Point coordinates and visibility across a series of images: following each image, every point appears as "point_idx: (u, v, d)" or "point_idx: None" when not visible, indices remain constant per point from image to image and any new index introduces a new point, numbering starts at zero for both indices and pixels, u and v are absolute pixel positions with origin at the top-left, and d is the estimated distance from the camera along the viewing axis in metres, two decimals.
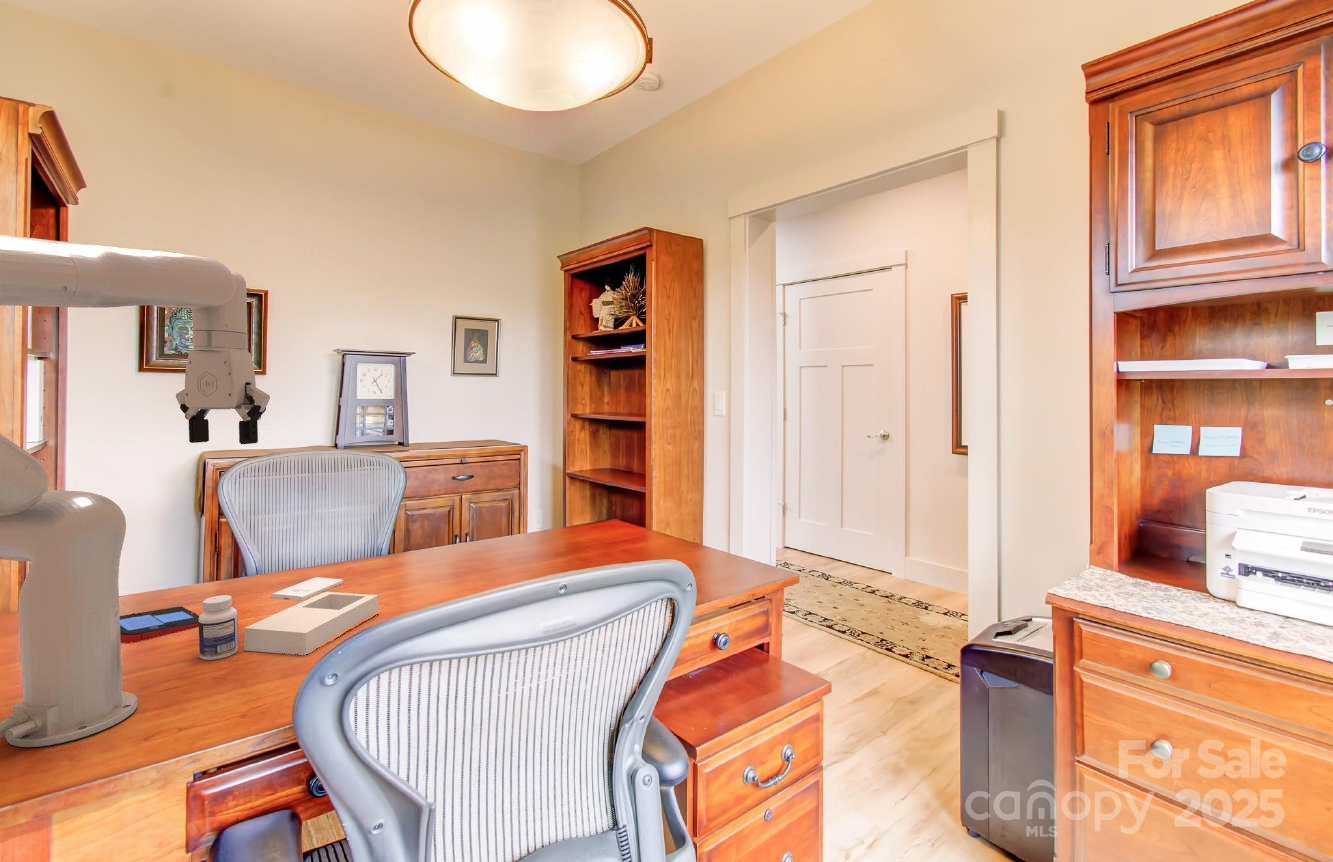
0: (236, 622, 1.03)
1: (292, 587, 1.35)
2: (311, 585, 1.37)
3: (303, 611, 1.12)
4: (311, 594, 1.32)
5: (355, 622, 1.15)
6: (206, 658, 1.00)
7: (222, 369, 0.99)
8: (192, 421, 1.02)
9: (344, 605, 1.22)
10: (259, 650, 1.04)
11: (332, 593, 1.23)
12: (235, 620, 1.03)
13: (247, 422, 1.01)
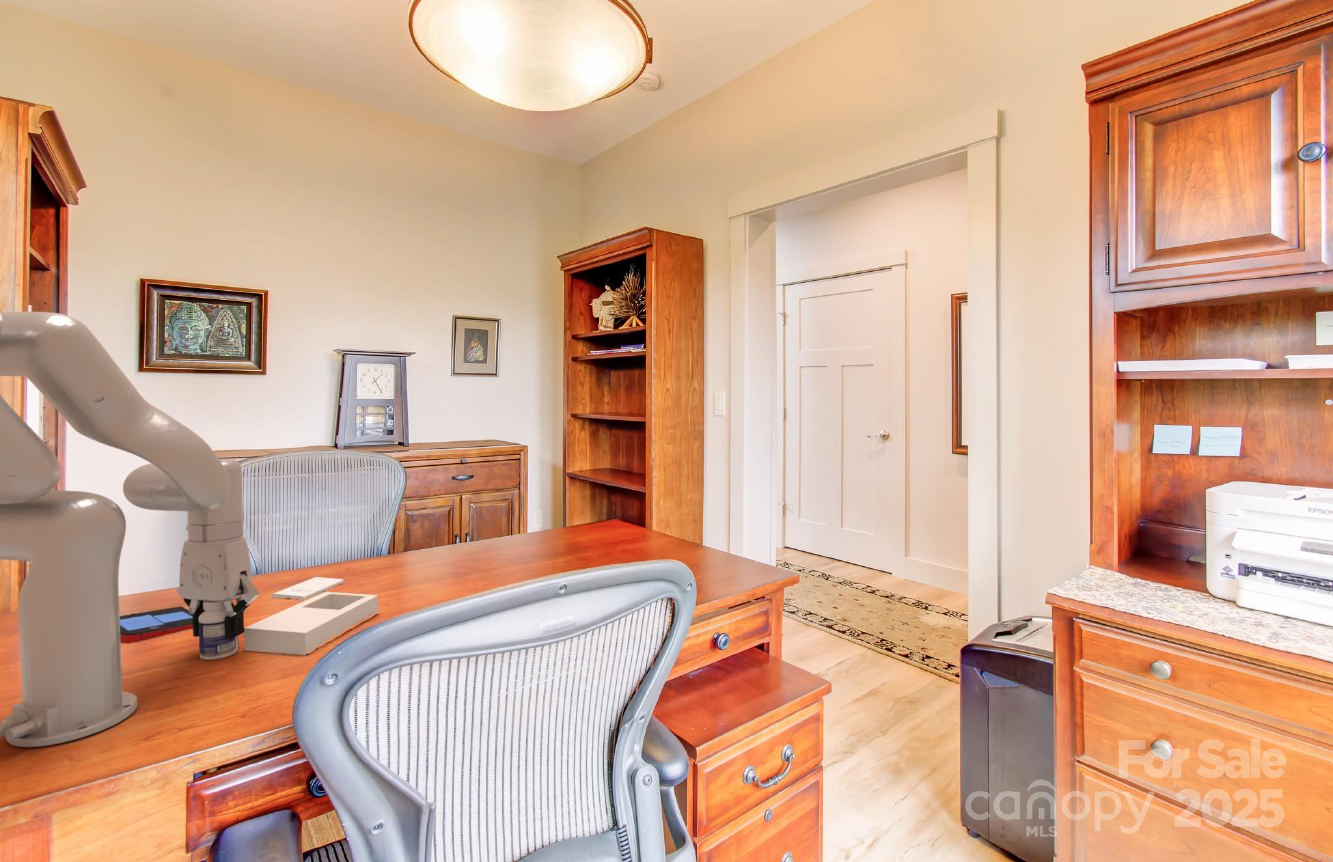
0: None
1: (293, 587, 1.36)
2: (312, 585, 1.37)
3: (303, 611, 1.12)
4: (312, 594, 1.32)
5: (355, 622, 1.15)
6: (206, 658, 1.00)
7: (217, 562, 0.99)
8: (196, 616, 1.01)
9: (344, 605, 1.22)
10: (259, 650, 1.04)
11: (332, 593, 1.23)
12: None
13: (233, 617, 1.01)
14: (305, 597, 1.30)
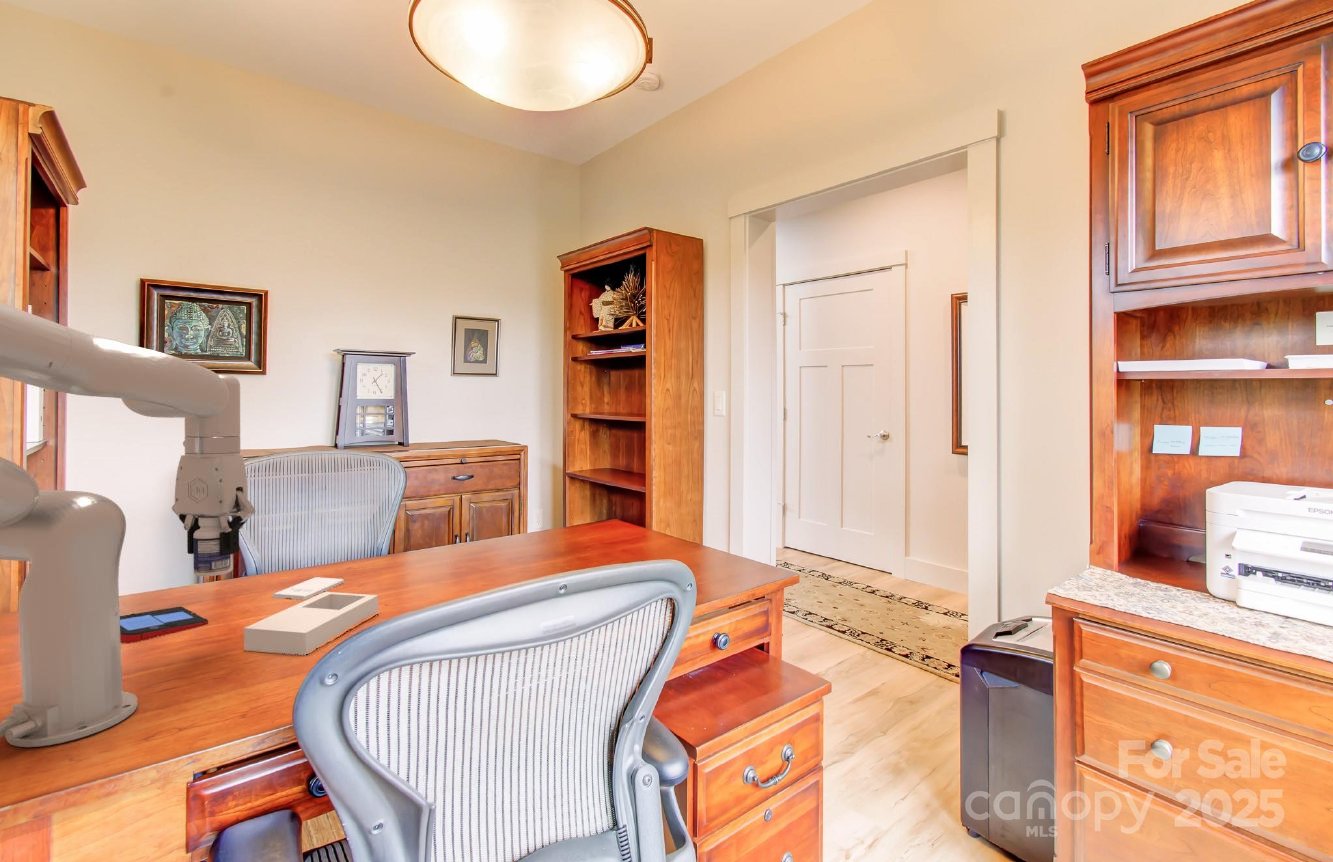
0: None
1: (293, 587, 1.36)
2: (312, 585, 1.37)
3: (303, 611, 1.12)
4: (313, 594, 1.32)
5: (355, 622, 1.15)
6: (200, 574, 0.98)
7: (213, 476, 0.97)
8: (191, 532, 1.00)
9: (344, 605, 1.22)
10: (259, 650, 1.04)
11: (332, 593, 1.23)
12: None
13: (228, 533, 1.00)
14: (306, 597, 1.30)
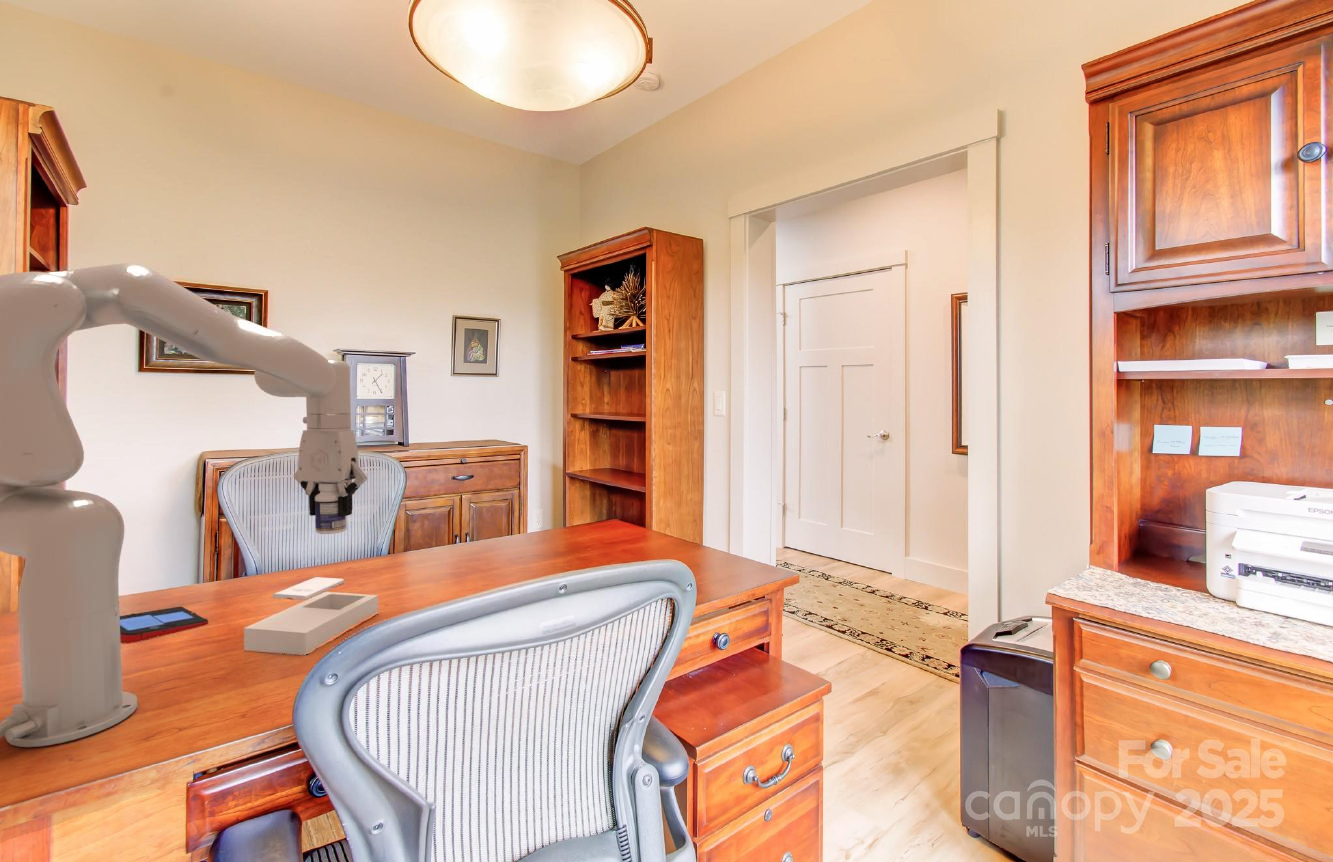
0: None
1: (293, 587, 1.36)
2: (312, 585, 1.37)
3: (303, 611, 1.12)
4: (314, 593, 1.33)
5: (355, 622, 1.15)
6: (322, 532, 1.14)
7: (333, 447, 1.13)
8: (312, 497, 1.15)
9: (344, 605, 1.22)
10: (259, 650, 1.04)
11: (332, 593, 1.23)
12: None
13: (345, 497, 1.15)
14: (307, 597, 1.31)
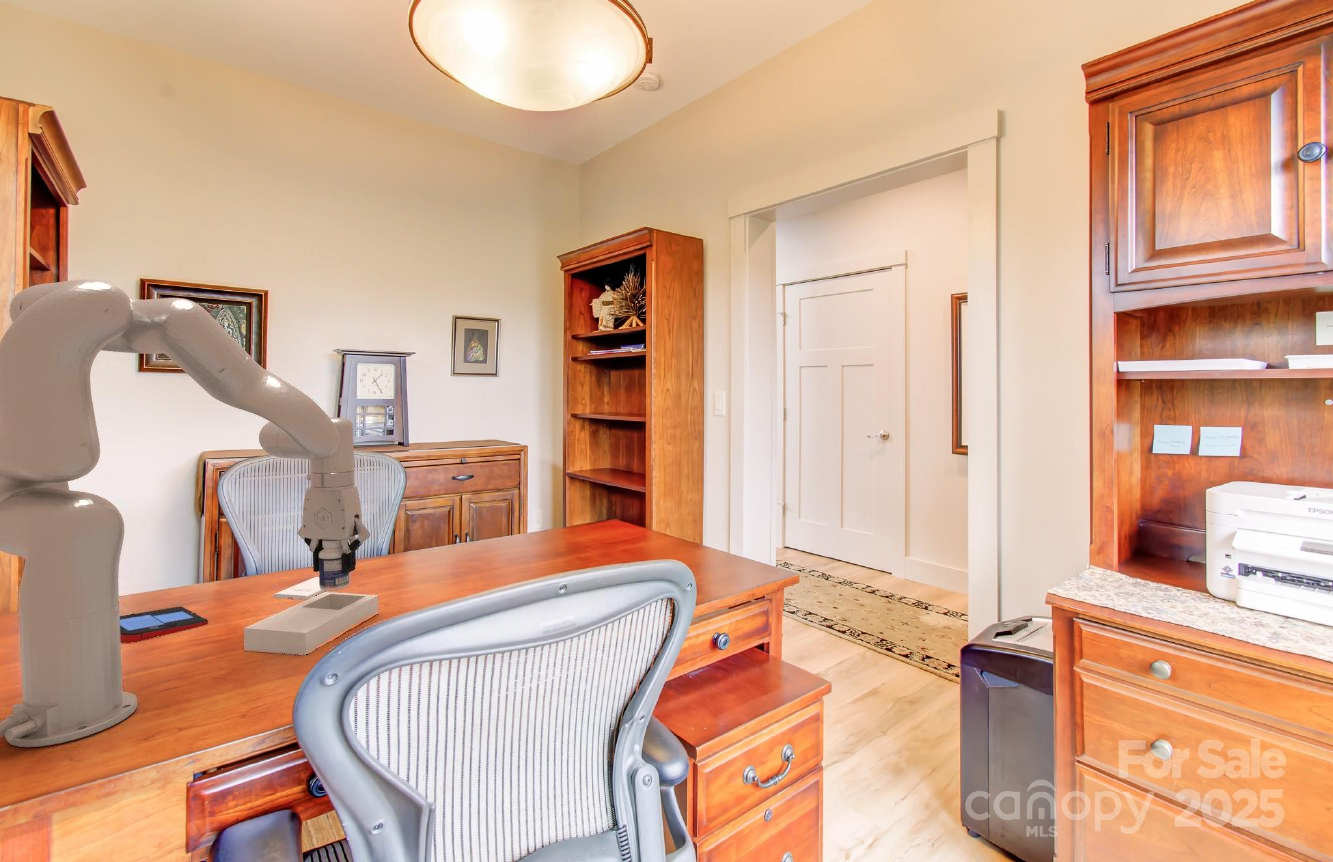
0: None
1: (294, 587, 1.36)
2: (313, 585, 1.37)
3: (303, 611, 1.12)
4: (315, 593, 1.33)
5: (355, 622, 1.15)
6: (326, 589, 1.15)
7: (336, 506, 1.14)
8: (316, 553, 1.16)
9: (344, 605, 1.22)
10: (259, 650, 1.04)
11: (332, 593, 1.23)
12: None
13: (348, 554, 1.16)
14: (308, 597, 1.31)
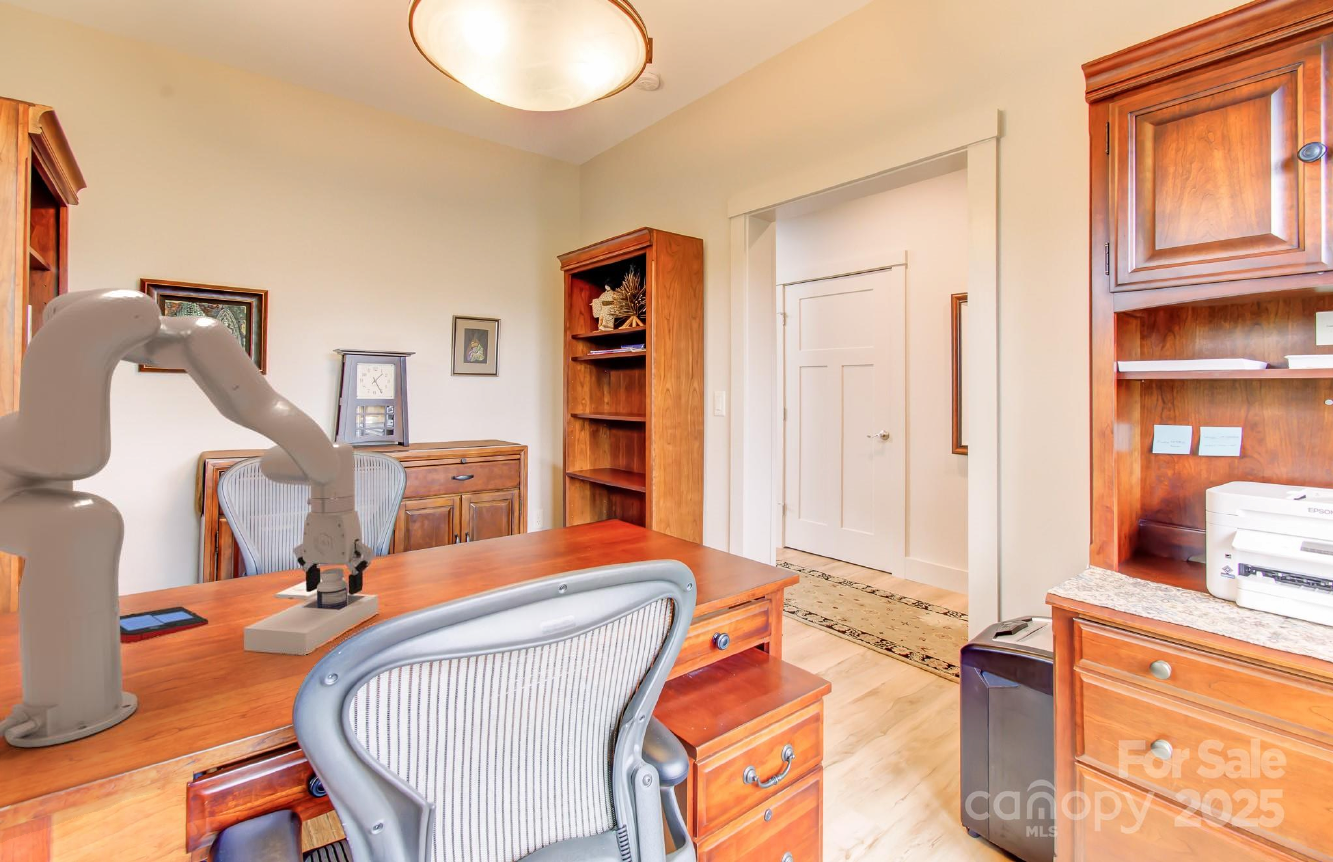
0: (347, 591, 1.18)
1: (294, 587, 1.36)
2: None
3: (303, 611, 1.12)
4: (316, 593, 1.33)
5: (355, 622, 1.15)
6: None
7: (337, 531, 1.14)
8: (309, 573, 1.17)
9: None
10: (259, 650, 1.04)
11: None
12: (347, 589, 1.18)
13: (355, 575, 1.16)
14: (309, 596, 1.31)
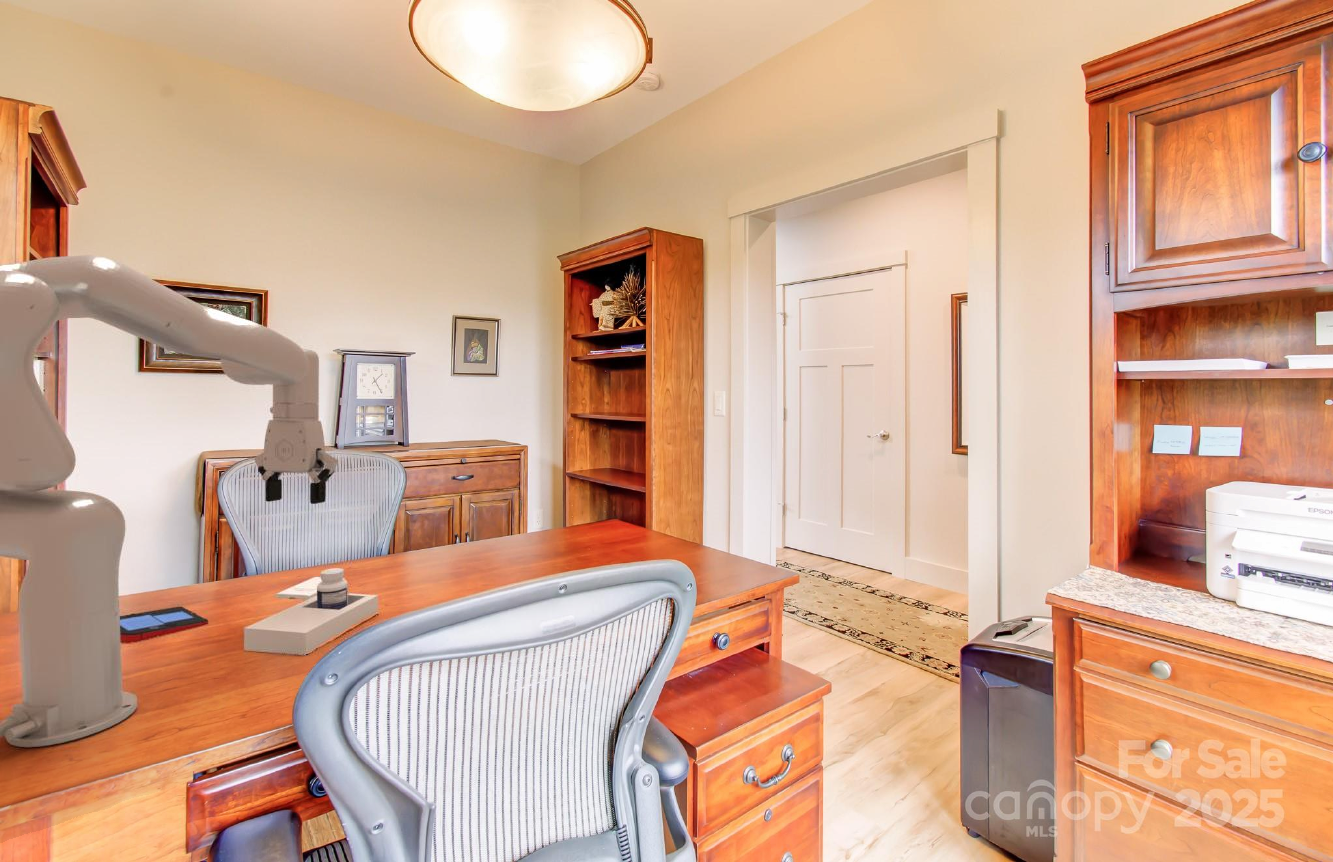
0: (347, 591, 1.18)
1: (295, 587, 1.36)
2: (314, 584, 1.37)
3: (303, 611, 1.12)
4: None
5: (355, 622, 1.15)
6: None
7: (297, 437, 1.11)
8: (269, 482, 1.14)
9: None
10: (259, 650, 1.04)
11: None
12: (347, 589, 1.18)
13: (317, 484, 1.12)
14: (310, 596, 1.31)
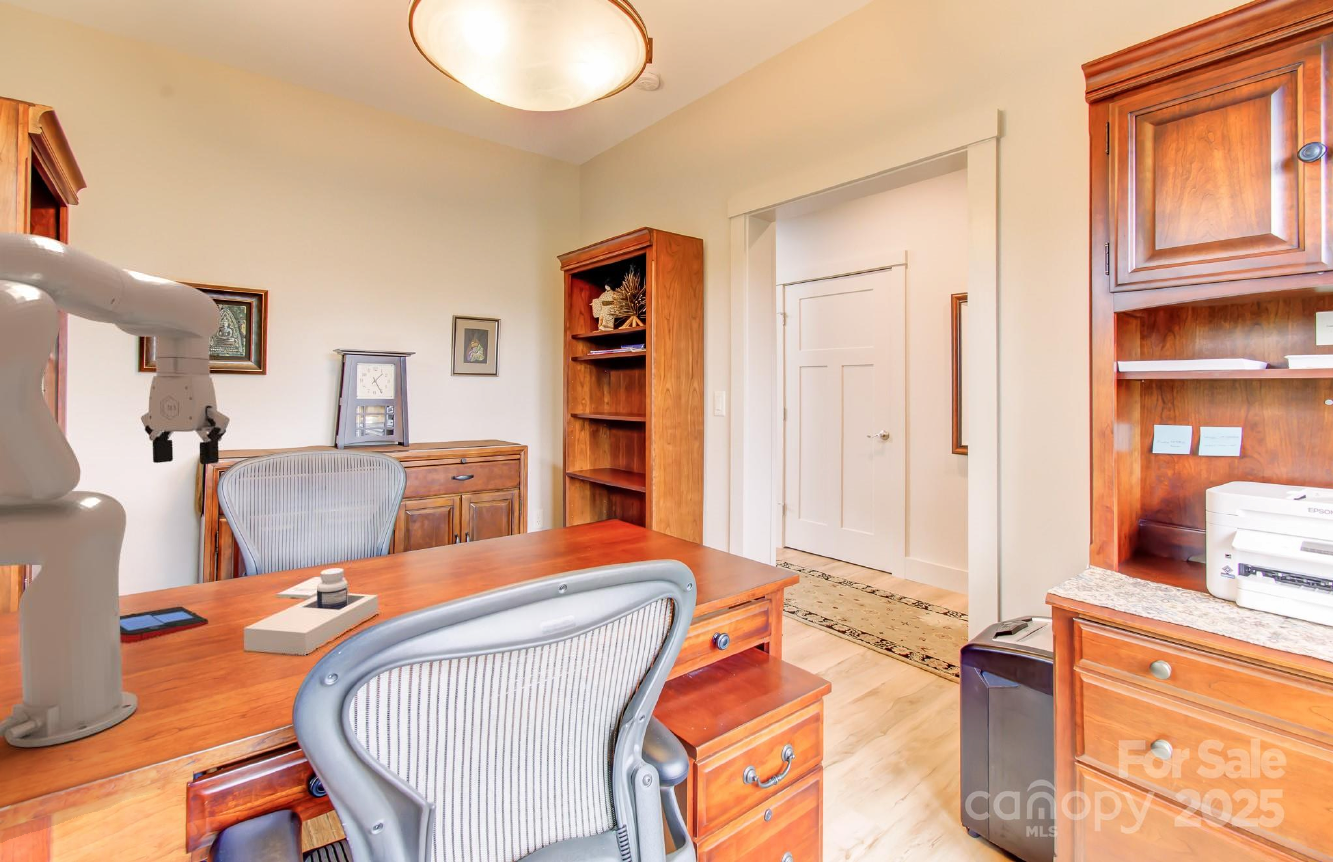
0: (347, 591, 1.18)
1: (296, 587, 1.36)
2: (315, 584, 1.38)
3: (303, 611, 1.12)
4: None
5: (355, 622, 1.15)
6: None
7: (183, 394, 1.05)
8: (156, 442, 1.07)
9: None
10: (259, 650, 1.04)
11: None
12: (347, 589, 1.18)
13: (207, 443, 1.07)
14: (312, 596, 1.31)
